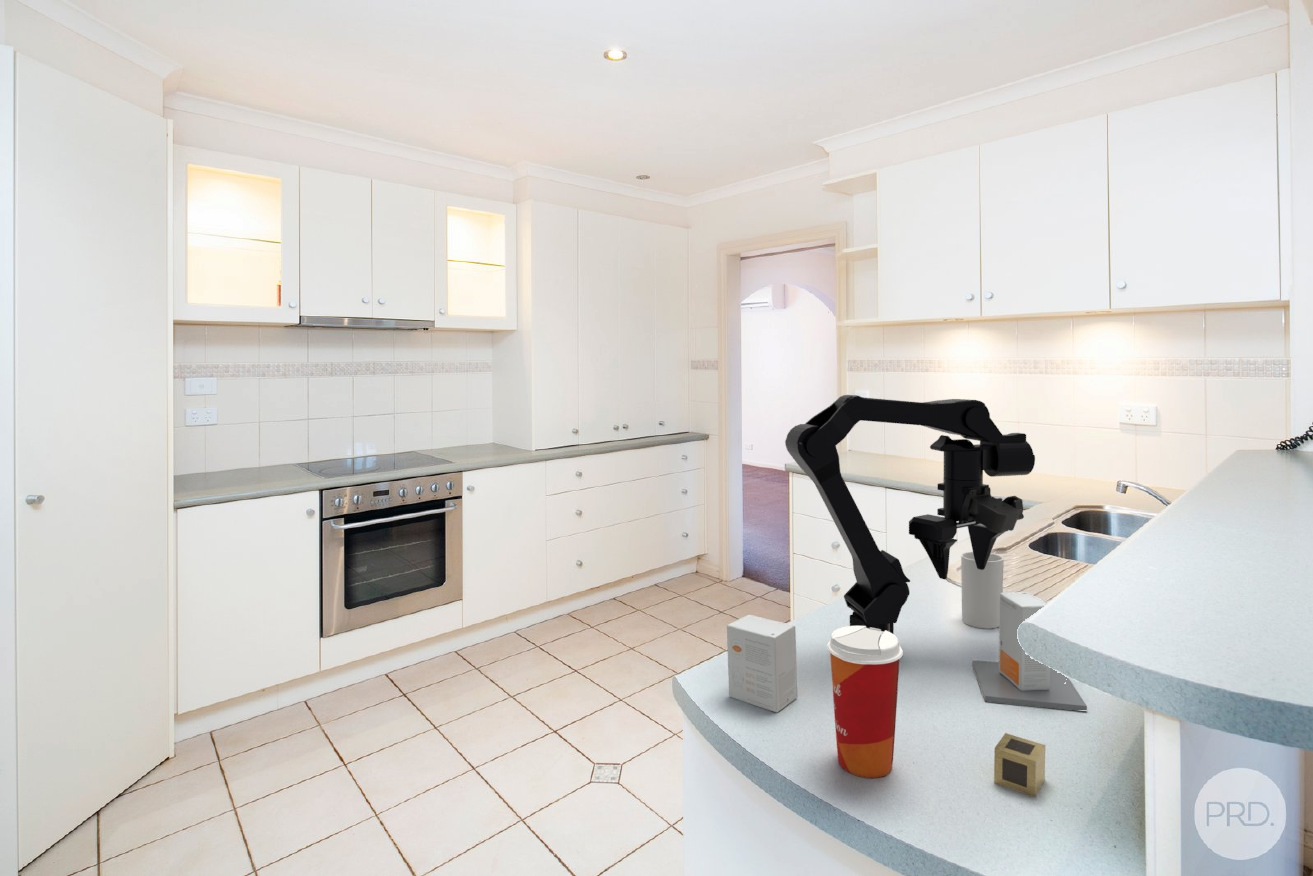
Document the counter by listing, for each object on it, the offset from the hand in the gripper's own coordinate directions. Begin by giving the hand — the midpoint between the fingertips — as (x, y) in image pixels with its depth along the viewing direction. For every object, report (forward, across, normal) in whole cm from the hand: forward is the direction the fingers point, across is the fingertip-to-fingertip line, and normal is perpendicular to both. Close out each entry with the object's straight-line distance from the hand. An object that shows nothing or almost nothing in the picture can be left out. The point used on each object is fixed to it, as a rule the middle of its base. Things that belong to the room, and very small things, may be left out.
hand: (962, 574), depth 108 cm
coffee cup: (+12, -38, -16) cm, 43 cm away
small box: (+12, -38, +3) cm, 40 cm away
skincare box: (+11, -5, -14) cm, 19 cm away
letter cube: (+12, -26, -27) cm, 40 cm away
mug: (+12, +13, +6) cm, 19 cm away
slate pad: (+12, -5, -14) cm, 19 cm away
